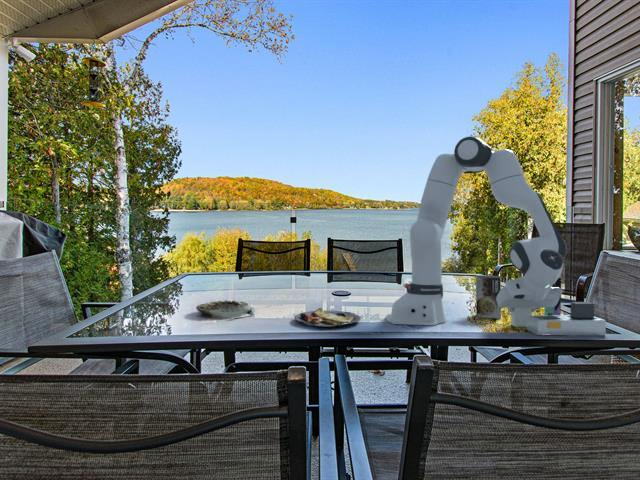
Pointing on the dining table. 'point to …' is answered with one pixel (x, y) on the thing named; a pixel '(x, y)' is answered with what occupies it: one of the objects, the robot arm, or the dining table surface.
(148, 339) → the dining table surface
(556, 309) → the spray can
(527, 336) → the dining table surface
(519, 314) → the panel
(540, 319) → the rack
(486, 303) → the coffee box
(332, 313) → the food plate
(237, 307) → the grey round shallow dish
